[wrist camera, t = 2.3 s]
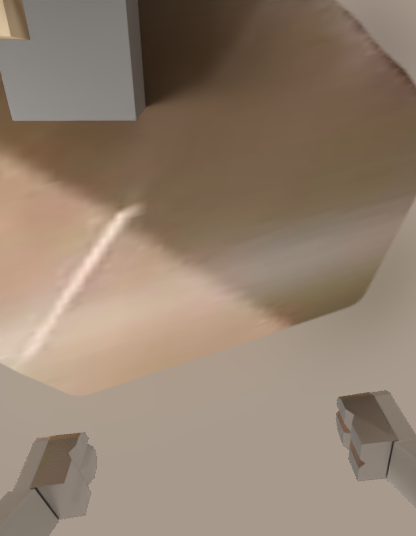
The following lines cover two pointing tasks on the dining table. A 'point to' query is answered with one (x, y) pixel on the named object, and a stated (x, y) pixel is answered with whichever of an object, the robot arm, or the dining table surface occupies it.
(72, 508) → the robot arm
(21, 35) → the stick
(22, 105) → the stand
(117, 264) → the dining table surface
